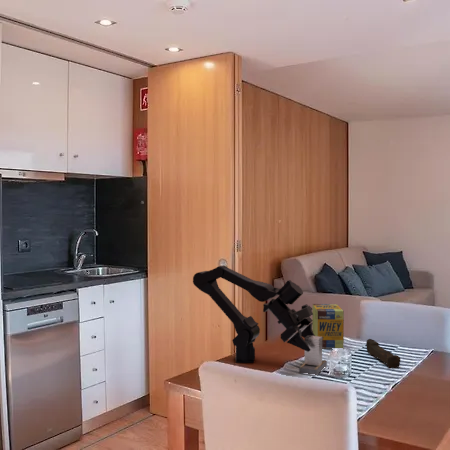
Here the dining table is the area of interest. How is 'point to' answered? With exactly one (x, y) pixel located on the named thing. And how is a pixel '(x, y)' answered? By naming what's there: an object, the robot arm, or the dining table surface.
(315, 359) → the pale upright block
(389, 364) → the dark brown rod
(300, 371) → the grey gold-striped flat block
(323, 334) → the protein box
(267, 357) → the dining table surface
